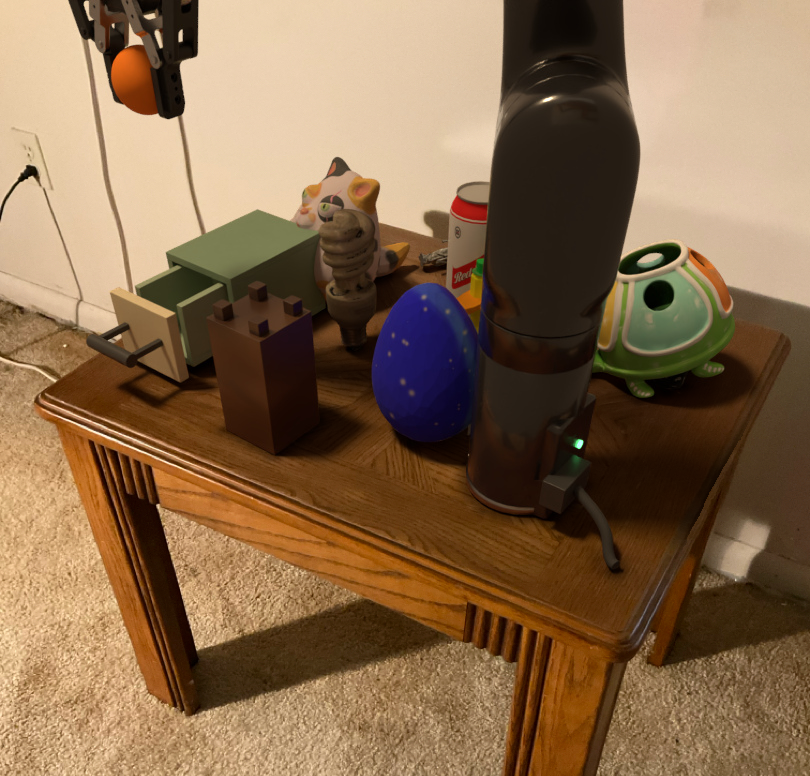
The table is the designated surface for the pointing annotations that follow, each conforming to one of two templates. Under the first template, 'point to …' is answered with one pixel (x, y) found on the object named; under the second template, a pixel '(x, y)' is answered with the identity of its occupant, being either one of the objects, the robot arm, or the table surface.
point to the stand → (265, 367)
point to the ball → (134, 80)
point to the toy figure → (474, 294)
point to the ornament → (426, 365)
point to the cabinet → (257, 258)
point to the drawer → (163, 322)
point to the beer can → (466, 235)
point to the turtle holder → (664, 317)
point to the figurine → (346, 193)
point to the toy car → (670, 381)
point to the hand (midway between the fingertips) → (149, 107)
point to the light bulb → (350, 273)
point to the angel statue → (435, 257)
